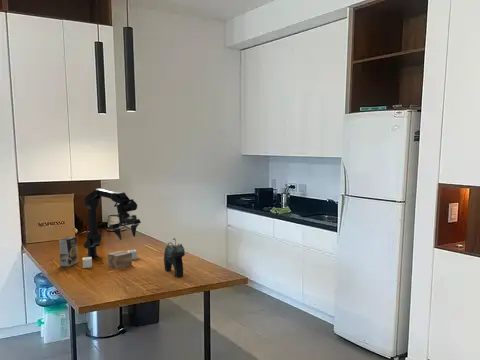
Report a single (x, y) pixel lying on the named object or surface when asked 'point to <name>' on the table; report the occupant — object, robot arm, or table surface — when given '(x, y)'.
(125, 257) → the plain walnut block
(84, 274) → the table surface
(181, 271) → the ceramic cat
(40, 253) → the table surface
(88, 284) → the table surface
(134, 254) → the grey numeral block
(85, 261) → the offwhite numeral block
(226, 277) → the table surface
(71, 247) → the coffee box
